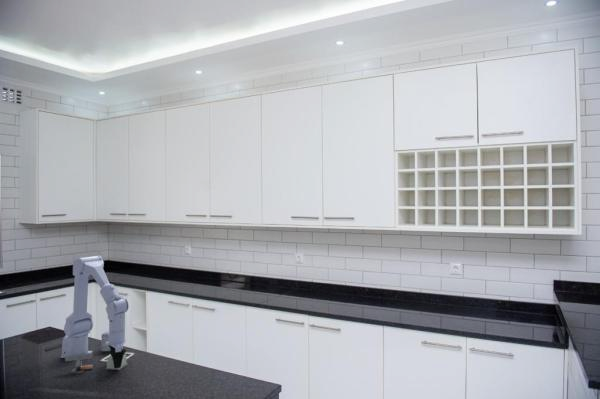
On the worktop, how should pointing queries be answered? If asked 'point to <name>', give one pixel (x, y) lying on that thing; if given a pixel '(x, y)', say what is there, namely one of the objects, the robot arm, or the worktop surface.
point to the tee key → (79, 360)
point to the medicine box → (105, 339)
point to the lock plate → (85, 369)
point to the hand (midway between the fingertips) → (116, 364)
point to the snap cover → (111, 365)
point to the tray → (110, 355)
